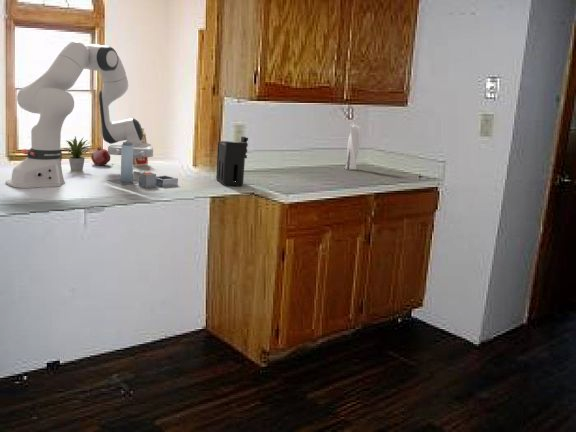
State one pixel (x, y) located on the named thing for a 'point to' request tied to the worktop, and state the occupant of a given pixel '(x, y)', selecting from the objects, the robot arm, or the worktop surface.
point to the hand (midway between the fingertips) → (129, 153)
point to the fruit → (100, 156)
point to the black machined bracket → (231, 162)
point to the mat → (123, 182)
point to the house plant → (77, 155)
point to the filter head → (156, 181)
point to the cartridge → (127, 162)
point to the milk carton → (141, 160)
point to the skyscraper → (353, 147)
